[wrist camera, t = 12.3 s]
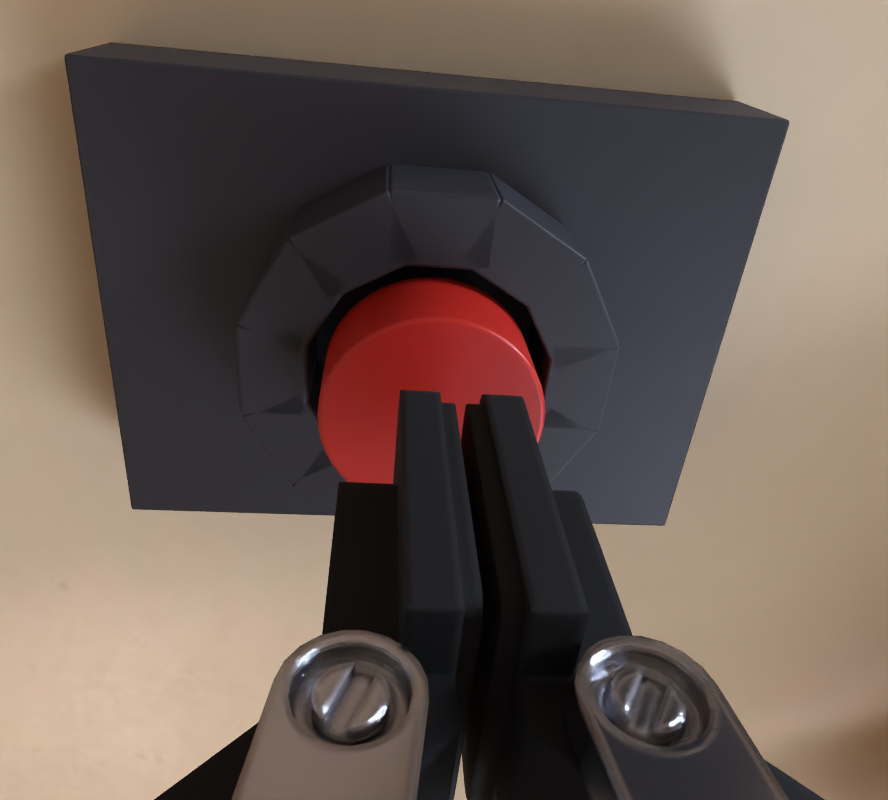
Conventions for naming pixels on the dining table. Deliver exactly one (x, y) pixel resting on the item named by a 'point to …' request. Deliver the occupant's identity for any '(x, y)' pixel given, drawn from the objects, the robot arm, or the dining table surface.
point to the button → (416, 367)
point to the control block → (403, 256)
